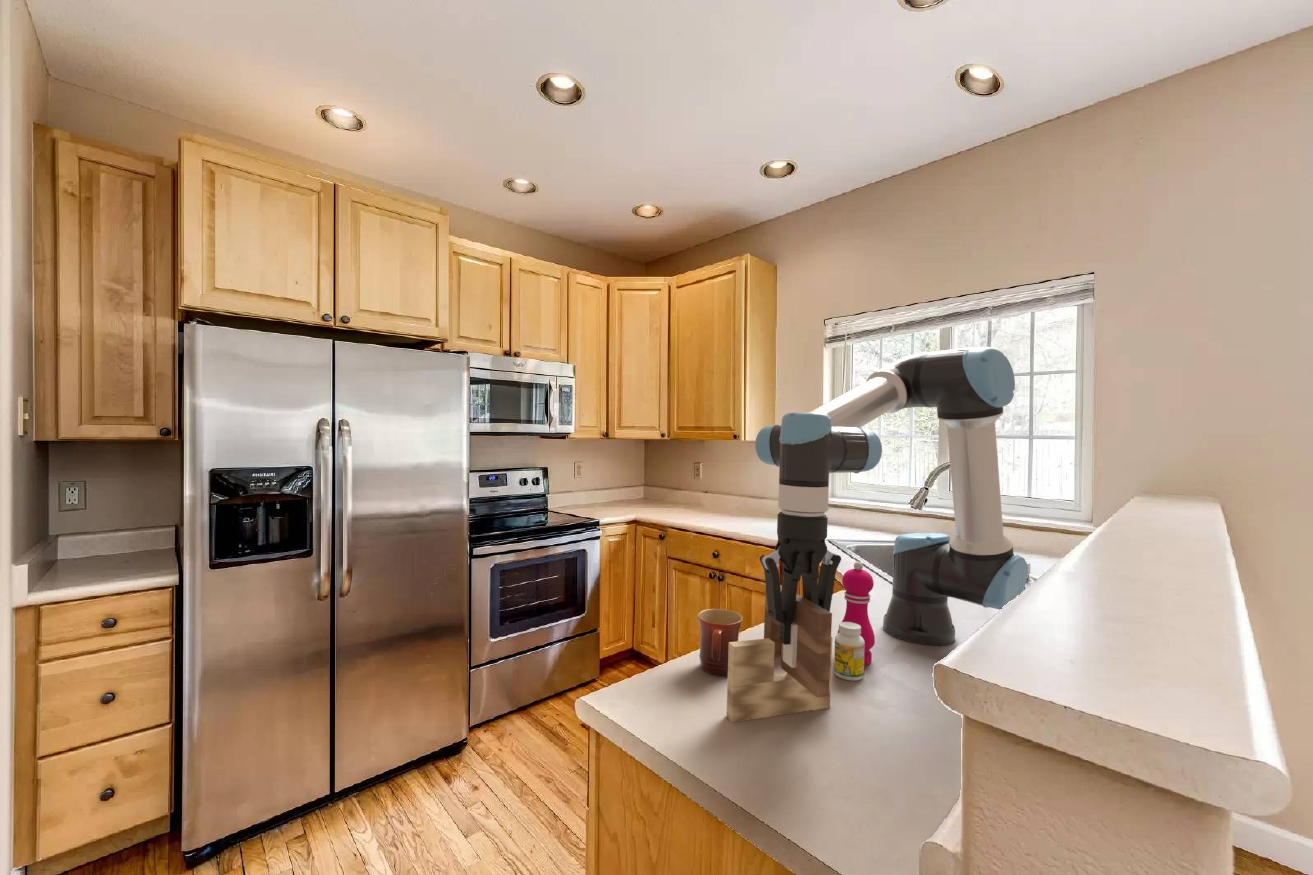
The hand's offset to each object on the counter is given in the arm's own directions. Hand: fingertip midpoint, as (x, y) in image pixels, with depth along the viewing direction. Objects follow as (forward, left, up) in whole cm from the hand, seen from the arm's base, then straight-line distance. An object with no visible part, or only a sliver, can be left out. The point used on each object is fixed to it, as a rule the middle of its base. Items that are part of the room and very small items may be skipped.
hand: (797, 662), depth 87 cm
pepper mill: (-26, -20, -10) cm, 34 cm away
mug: (+4, -21, -10) cm, 24 cm away
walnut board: (0, -1, -2) cm, 2 cm away
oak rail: (0, -5, -10) cm, 11 cm away
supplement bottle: (-20, -14, -10) cm, 27 cm away
